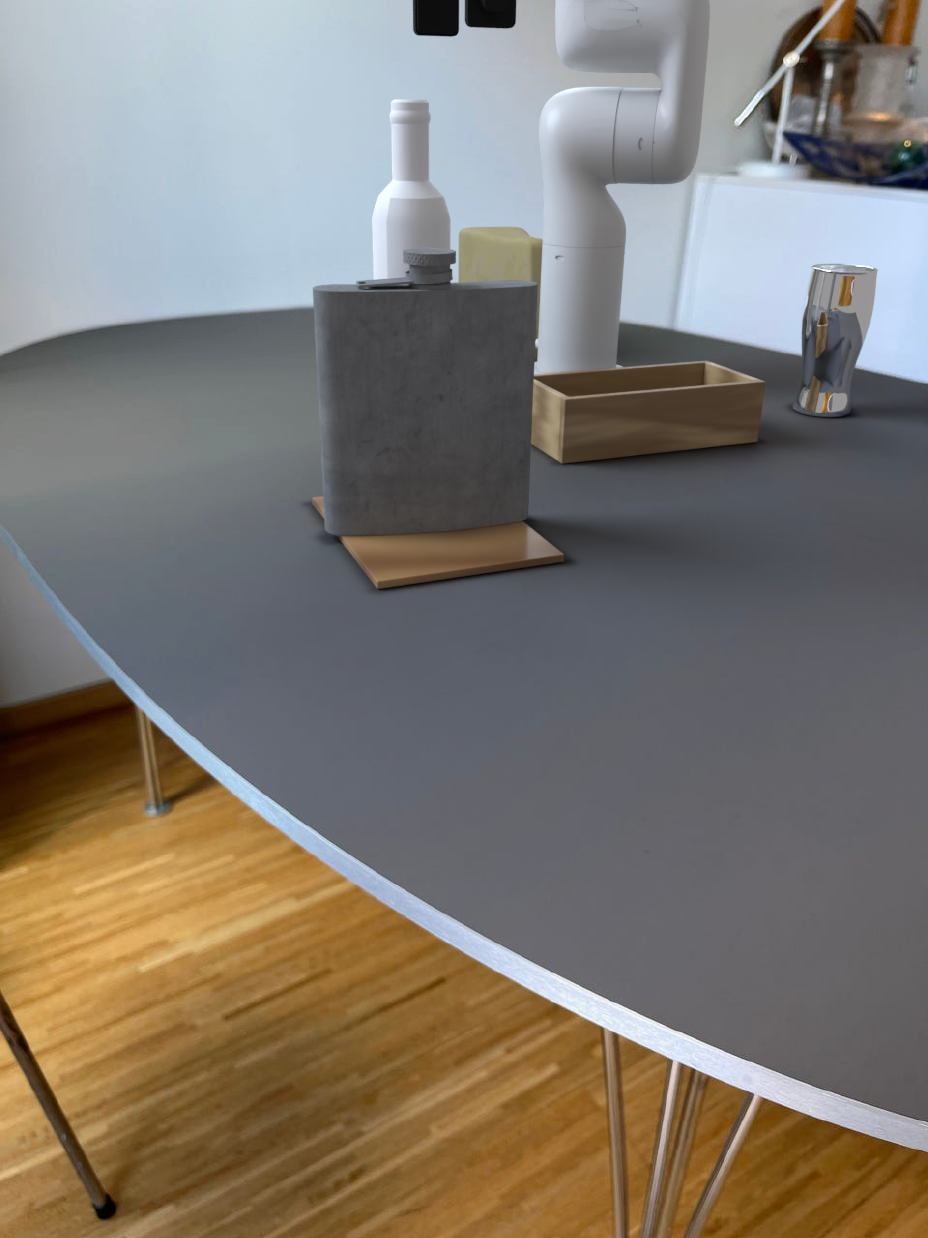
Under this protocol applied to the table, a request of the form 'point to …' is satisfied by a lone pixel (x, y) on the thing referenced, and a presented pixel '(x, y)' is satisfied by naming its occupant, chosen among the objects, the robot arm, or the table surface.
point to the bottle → (408, 195)
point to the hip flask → (425, 400)
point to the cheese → (500, 257)
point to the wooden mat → (447, 552)
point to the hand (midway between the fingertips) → (461, 31)
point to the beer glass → (833, 336)
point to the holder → (643, 410)
